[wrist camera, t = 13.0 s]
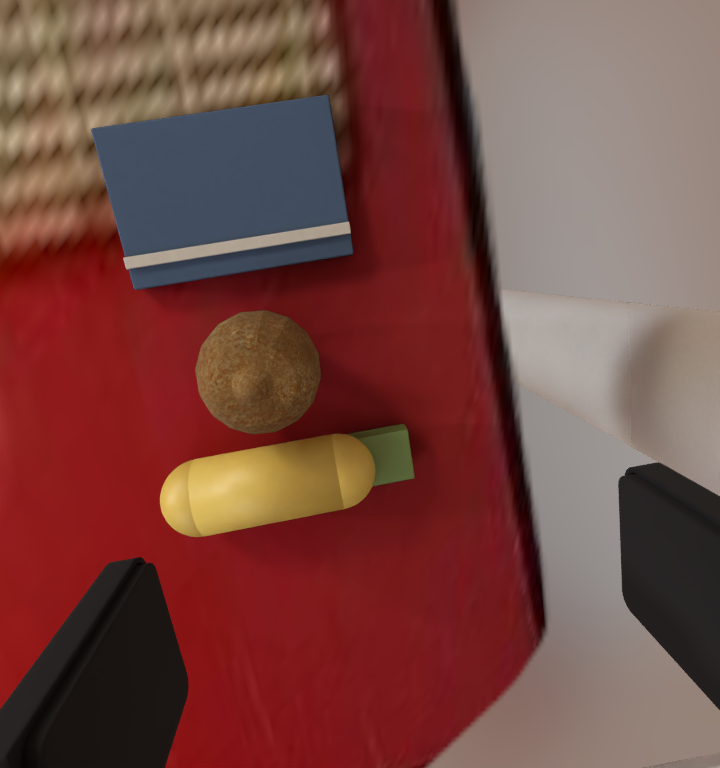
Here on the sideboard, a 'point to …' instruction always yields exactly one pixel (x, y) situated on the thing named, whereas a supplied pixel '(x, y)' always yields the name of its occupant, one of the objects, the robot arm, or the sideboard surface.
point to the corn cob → (283, 480)
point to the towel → (226, 191)
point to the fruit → (258, 372)
